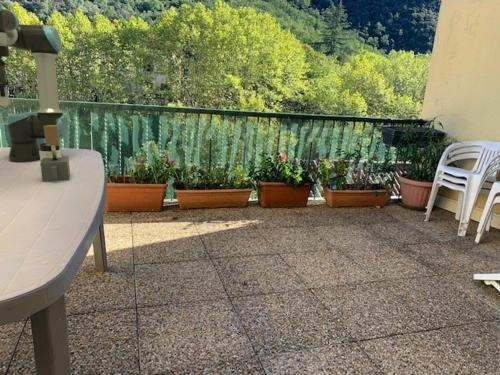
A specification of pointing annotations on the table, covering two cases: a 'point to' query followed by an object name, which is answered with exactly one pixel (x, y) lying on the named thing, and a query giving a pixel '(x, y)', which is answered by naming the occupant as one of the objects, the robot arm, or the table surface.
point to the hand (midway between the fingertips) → (4, 104)
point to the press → (55, 169)
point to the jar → (48, 151)
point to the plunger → (52, 138)
